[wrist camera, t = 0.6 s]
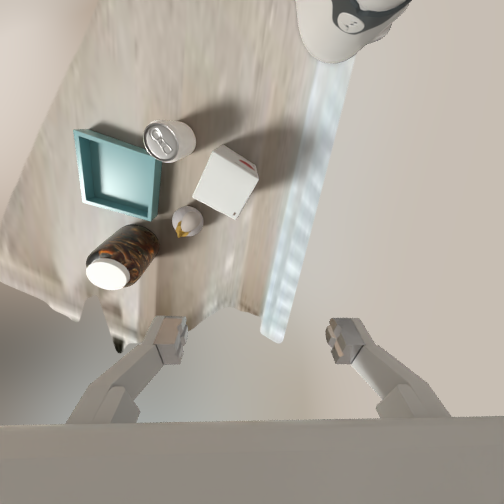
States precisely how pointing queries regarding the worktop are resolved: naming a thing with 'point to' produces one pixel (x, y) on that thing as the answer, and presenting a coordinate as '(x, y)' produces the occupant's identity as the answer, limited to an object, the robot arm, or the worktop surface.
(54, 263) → the worktop surface
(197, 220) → the perfume bottle
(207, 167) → the supplement box
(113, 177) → the bin
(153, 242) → the jar
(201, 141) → the worktop surface
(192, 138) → the can
